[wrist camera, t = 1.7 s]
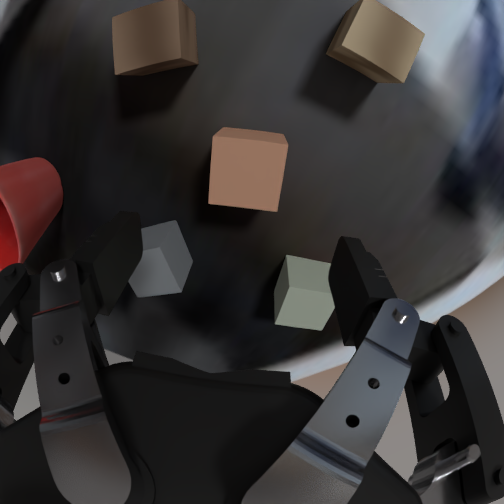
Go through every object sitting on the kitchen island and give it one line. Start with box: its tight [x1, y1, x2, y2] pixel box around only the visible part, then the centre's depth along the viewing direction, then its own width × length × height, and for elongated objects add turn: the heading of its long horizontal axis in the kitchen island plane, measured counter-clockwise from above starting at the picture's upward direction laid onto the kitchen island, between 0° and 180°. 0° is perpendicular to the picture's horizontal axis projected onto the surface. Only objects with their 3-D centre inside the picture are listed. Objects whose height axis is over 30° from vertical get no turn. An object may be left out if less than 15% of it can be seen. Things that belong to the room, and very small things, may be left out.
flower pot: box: [0, 157, 63, 272], centre depth 20 cm, size 11×11×10 cm
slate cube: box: [128, 220, 193, 298], centre depth 26 cm, size 5×5×5 cm
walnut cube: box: [112, 0, 198, 76], centre depth 15 cm, size 5×5×5 cm
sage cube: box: [274, 255, 335, 330], centre depth 27 cm, size 5×5×5 cm
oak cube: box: [326, 0, 425, 83], centre depth 14 cm, size 5×5×5 cm
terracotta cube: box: [208, 127, 288, 212], centre depth 20 cm, size 5×5×5 cm
